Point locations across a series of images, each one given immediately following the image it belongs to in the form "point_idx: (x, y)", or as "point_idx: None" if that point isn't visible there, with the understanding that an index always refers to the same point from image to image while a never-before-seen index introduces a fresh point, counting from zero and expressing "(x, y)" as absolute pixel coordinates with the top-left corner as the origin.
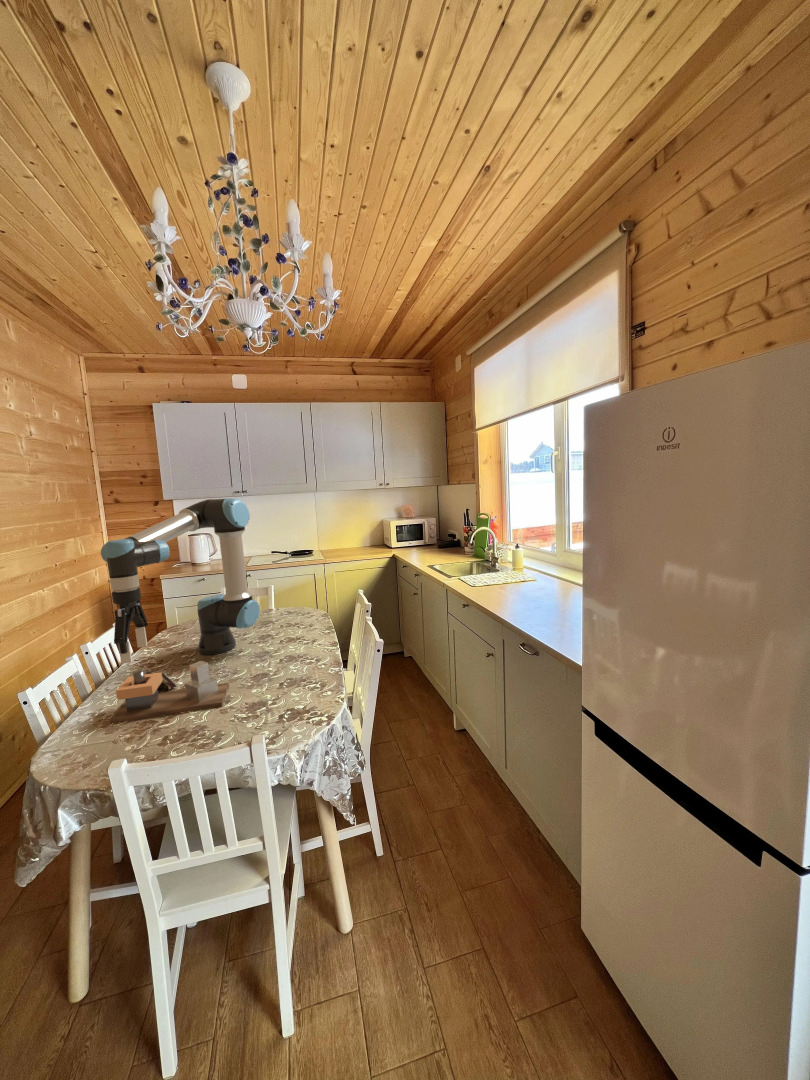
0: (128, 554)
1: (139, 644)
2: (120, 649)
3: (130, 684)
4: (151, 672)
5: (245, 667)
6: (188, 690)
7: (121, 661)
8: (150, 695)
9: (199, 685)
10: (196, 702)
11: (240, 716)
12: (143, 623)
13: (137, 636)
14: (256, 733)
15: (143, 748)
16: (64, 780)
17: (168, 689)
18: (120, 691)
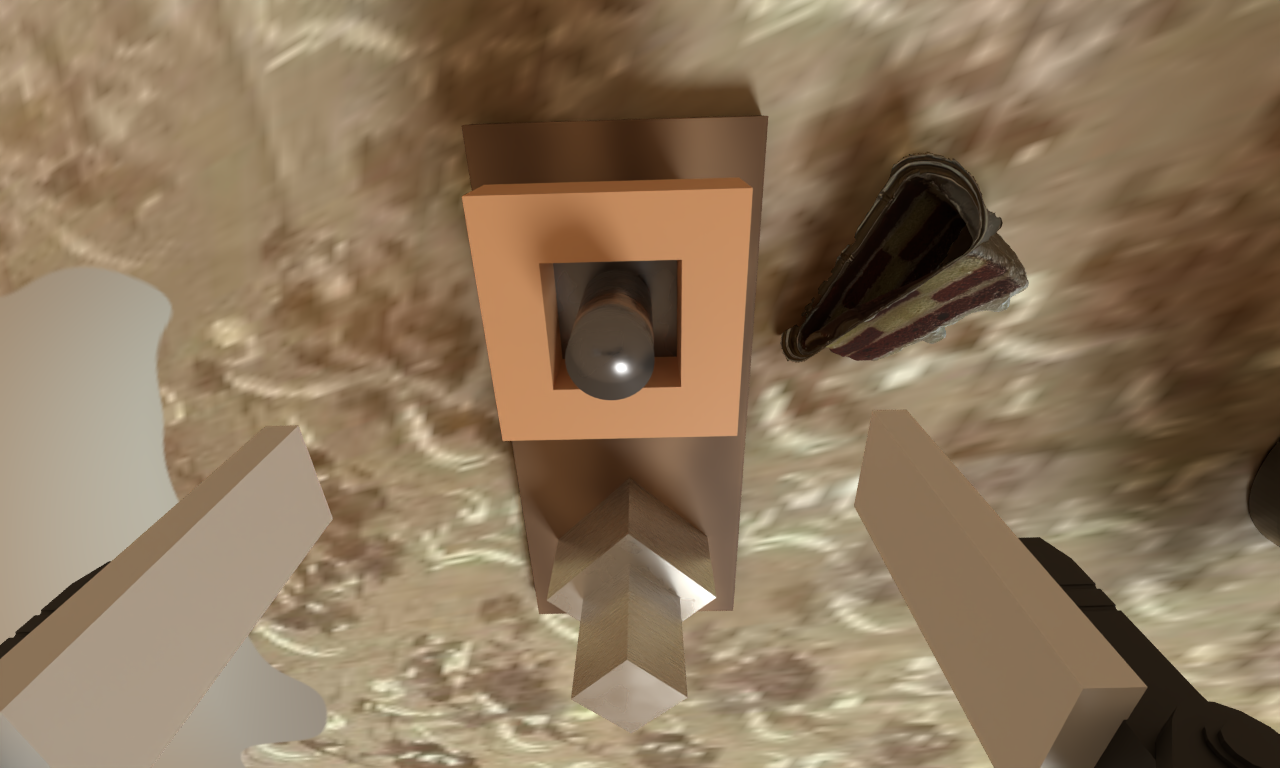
0: None
1: (884, 460)
2: (17, 640)
3: (599, 258)
4: (951, 264)
5: None
6: (610, 524)
7: (249, 448)
8: None
9: (575, 602)
10: (562, 528)
11: (448, 658)
12: None
13: (957, 544)
14: (330, 704)
15: (228, 398)
16: None
17: (803, 347)
18: (470, 229)
